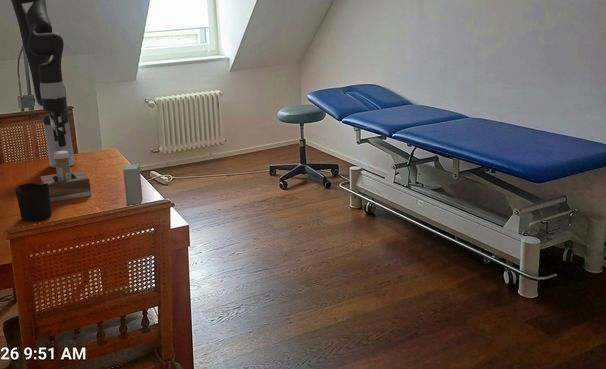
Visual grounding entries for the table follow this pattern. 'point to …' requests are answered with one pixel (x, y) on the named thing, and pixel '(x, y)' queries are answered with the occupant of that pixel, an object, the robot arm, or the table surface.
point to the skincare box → (132, 184)
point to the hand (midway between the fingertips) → (60, 143)
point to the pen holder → (33, 201)
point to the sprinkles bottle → (62, 165)
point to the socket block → (67, 186)
